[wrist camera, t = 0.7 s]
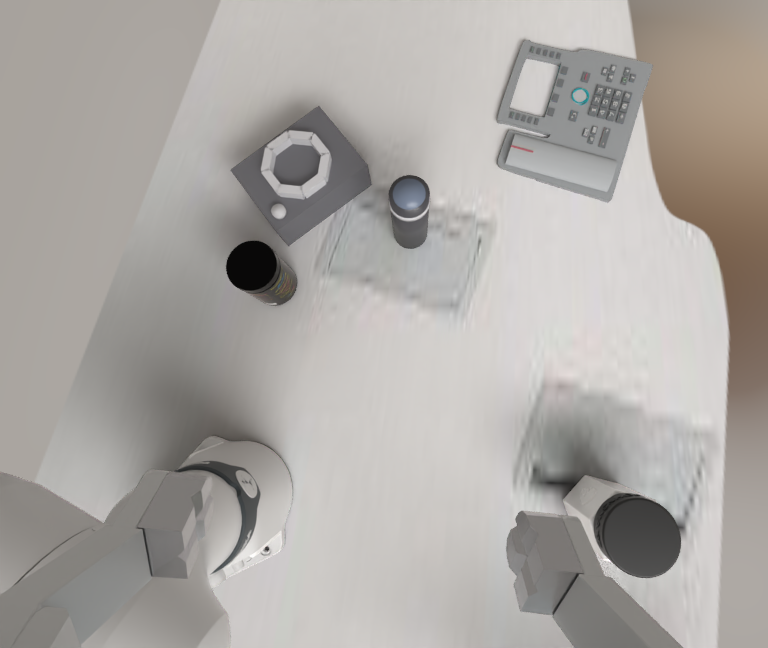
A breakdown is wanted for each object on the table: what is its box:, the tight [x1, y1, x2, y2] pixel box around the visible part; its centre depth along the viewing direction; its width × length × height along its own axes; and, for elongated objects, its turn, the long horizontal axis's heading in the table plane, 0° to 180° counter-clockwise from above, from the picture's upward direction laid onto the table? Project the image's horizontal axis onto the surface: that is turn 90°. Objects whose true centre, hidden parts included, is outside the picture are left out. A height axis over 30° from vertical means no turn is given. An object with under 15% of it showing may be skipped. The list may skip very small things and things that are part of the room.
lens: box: [389, 175, 430, 249], centre depth 60 cm, size 5×5×13 cm
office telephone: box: [497, 40, 653, 203], centre depth 67 cm, size 23×3×20 cm
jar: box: [563, 475, 681, 578], centre depth 52 cm, size 9×8×12 cm
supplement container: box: [226, 241, 297, 306], centre depth 61 cm, size 7×7×10 cm
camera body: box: [231, 106, 372, 246], centre depth 65 cm, size 16×12×8 cm
